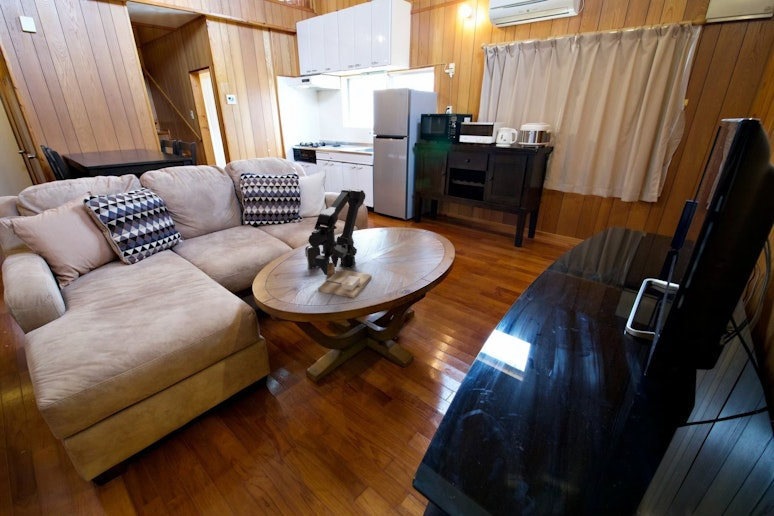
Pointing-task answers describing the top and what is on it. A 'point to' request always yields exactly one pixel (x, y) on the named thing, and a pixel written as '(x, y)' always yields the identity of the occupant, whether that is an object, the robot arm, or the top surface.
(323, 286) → the plank
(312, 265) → the battery charger
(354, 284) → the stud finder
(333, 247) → the robot arm
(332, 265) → the brown knobbed cylinder
